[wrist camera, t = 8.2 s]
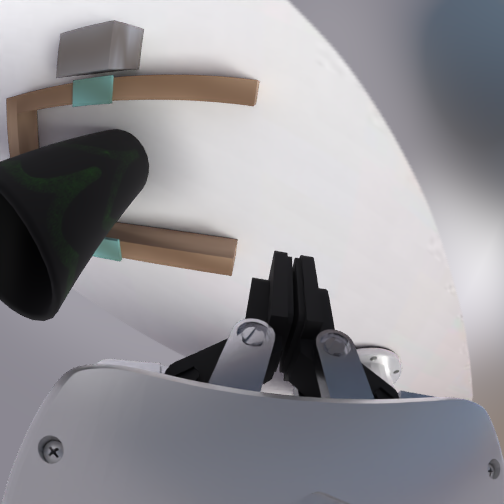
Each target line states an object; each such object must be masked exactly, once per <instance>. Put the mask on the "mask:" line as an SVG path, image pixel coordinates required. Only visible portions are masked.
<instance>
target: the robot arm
mask: <svg viewBox="0 0 504 504" xmlns="http://www.w3.org/2000/svg"><path fill="white" fill-rule="evenodd" d="M279 362H280V372H281V373H284V381H289V382H290V383H291V384H292V385H293V386H295V387H294V389H293V394H294V396H291V395H281V394H272V393H264V392H260V391H261V387H262V385H263V384H265V383H266V382H268V381H269V380H271V379H272V377H273V374H274V372H276V370H277V367H278V364H279ZM401 373H402V365H401V361H400V359H399V357H398V356H397V355H396V354H395V353H394V352H392V351H390V350H386V349H382V348H361V349H356V348H355V345H354V343H353V341H352V339H351V338H350V337H349V336H348V335H346V334H345V333H343V332H341V331H338V330H335V328H334V323H333V317H332V311H331V306H330V300H329V295H328V291H327V290H326V289H321V288H318V282H317V275H316V269H315V263H314V258H313V257H309V256H303V255H301V256H300V258H295V260H294V264H293V268H292V257H288V255H287V253H285V252H279V251H274V255H273V260H272V265H271V270H270V275H269V280H264V279H258V278H252V283H251V288H250V294H249V300H248V306H247V312H246V318H245V319H244V320H241V321H239V322H238V323H236V324H235V326H234V327H233V329H232V331H231V333H230V335H229V338H228V339H226V340H223V341H221V342H219V343H217V344H215V345H213V346H210V347H208V348H206V349H204V350H202V351H199V352H197V353H195V354H193V355H190V356H188V357H186V358H183V359H181V360H179V361H176V362H174V363H173V364H171V365H170V366H161V363H154V362H140V361H128V360H118V359H104V360H101V361H99V362H98V363H96V364H92V365H84V366H79V367H76V368H73V369H71V370H69V371H68V372H66V373H65V374H64V375H63V376H62V377H61V378H60V379H59V380H58V381H57V382H56V383H55V385H54V386H53V387H52V389H51V390H50V392H49V393H48V395H47V396H46V398H45V399H44V401H43V402H42V404H41V406H40V408H39V410H38V411H37V413H36V415H35V417H34V419H33V420H32V422H31V424H30V427H29V429H28V431H27V433H26V435H25V438H24V440H23V442H22V445H21V447H20V449H19V452H18V454H17V457H16V459H15V462H14V464H13V467H12V470H11V473H10V476H9V479H8V482H7V486H6V489H5V493H4V496H3V501H2V504H504V460H503V456H502V452H501V448H500V444H499V441H498V437H497V435H496V432H495V429H494V426H493V424H492V422H491V419H490V417H489V415H488V413H487V412H486V410H485V409H484V408H483V407H482V406H480V405H479V404H477V403H475V402H472V401H469V400H466V399H461V398H455V397H434V396H428V395H422V394H417V393H411V392H406V391H400V392H399V393H397V391H396V390H395V387H394V383H395V382H396V381H397V380H398V379H399V377H400V375H401Z"/></svg>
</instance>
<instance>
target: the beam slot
mask: <svg viewBox="0 0 504 504" xmlns="http://www.w3.org/2000/svg"><path fill="white" fill-rule="evenodd" d="M143 32H144V29H142V28H139V27H135V26H132V25H129V24H125V23H122V22H118V21H115V20H114V21H109V22H104V23H99V24H95V25H90V26H86V27H83V28H79V29H75V30H72V31H68V32H65V33H62V34H61V35H60V43H59V51H58V62H57V76H56V78H60V77H68V76H78V75H89V74H97V73H105V72H113V71H123V70H136V69H139V65H140V55H141V47H142V39H143ZM258 88H259V81H258V80H252V79H244V78H234V77H222V76H206V75H140V76H125V77H114V75H109V76H101V77H93V78H86V79H80V80H74V81H73V83H69V84H64V85H59V86H54V87H49V88H45V89H40V90H36V91H32V92H28V93H24V94H21V95H17V96H14V97H10V98H7V99H6V104H7V130H8V143H9V152H10V158H12V157H15V156H17V155H20V154H23V153H26V152H29V151H32V150H35V149H38V148H39V141H38V124H37V110H38V109H44V108H50V107H57V106H64V105H71V104H73V107H76V106H86V105H97V104H110V103H112V101H117V100H192V101H208V102H221V103H231V104H240V105H248V106H254V105H255V104H256V101H257V94H258ZM236 248H237V239H230V238H224V237H217V236H210V235H203V234H196V233H189V232H182V231H175V230H168V229H161V228H154V227H147V226H140V225H133V224H126V223H118V222H116V223H115V224H114V226H113V227H112V228H111V230H110V231H109V233H108V234H107V235H106V237H105V238H104V240H103V241H102V242H101V244H100V245H99V247H98V248H97V250H96V251H95V253H94V254H93V255H92V256H94V257H100V258H105V259H110V260H115V261H121V260H122V258H127V259H132V260H138V261H144V262H149V263H155V264H161V265H167V266H173V267H179V268H185V269H191V270H197V271H203V272H210V273H216V274H223V275H229V276H232V271H233V266H234V261H235V256H236Z"/></svg>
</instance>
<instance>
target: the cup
mask: <svg viewBox="0 0 504 504" xmlns="http://www.w3.org/2000/svg"><path fill="white" fill-rule="evenodd" d="M148 173H149V163H148V158H147V154H146V152H145V150H144V147H143V146H142V145H141V143H140V142H139V140H138V139H136V138H135V137H134V136H133V135H132V134H130V133H128V132H126V131H122V130H117V129H116V130H108V131H103V132H98V133H94V134H89V135H85V136H81V137H77V138H73V139H69V140H65V141H62V142H58V143H55V144H51V145H48V146H45V147H41V148H38V149H35V150H32V151H29V152H26V153H23V154H20V155H17V156H15V157H12V158H9V159H7V160H4V161H1V162H0V300H1V301H2V302H4V303H5V304H6V305H7V306H8V307H9V308H11V309H12V310H14V311H15V312H17V313H18V314H20V315H22V316H24V317H27V318H29V319H32V320H40V321H45V320H48V319H51V318H53V317H54V316H55V314H56V313H57V312H58V310H59V308H60V307H61V305H62V303H63V302H64V300H65V298H66V296H67V294H68V293H69V291H70V290H71V288H72V287H73V285H74V283H75V282H76V280H77V278H78V277H79V275H80V274H81V272H82V271H83V269H84V268H85V266H86V264H87V263H88V261H89V260H90V258H91V257H92V255H93V254H94V253H95V251H96V250H97V248H98V247H99V245H100V244H101V242H102V241H103V240H104V238H105V237H106V235H107V234H108V233H109V231H110V230H111V228H112V227H113V226H114V224H115V223H116V222H117V220H118V219H119V218H120V216H121V215H122V214H123V213H124V211H125V210H126V209H127V207H128V206H129V205H130V204H131V202H132V201H133V200H134V199H135V197H136V196H137V195H138V194H139V192H140V191H141V190H142V189H143V187H144V185H145V183H146V181H147V177H148Z"/></svg>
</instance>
